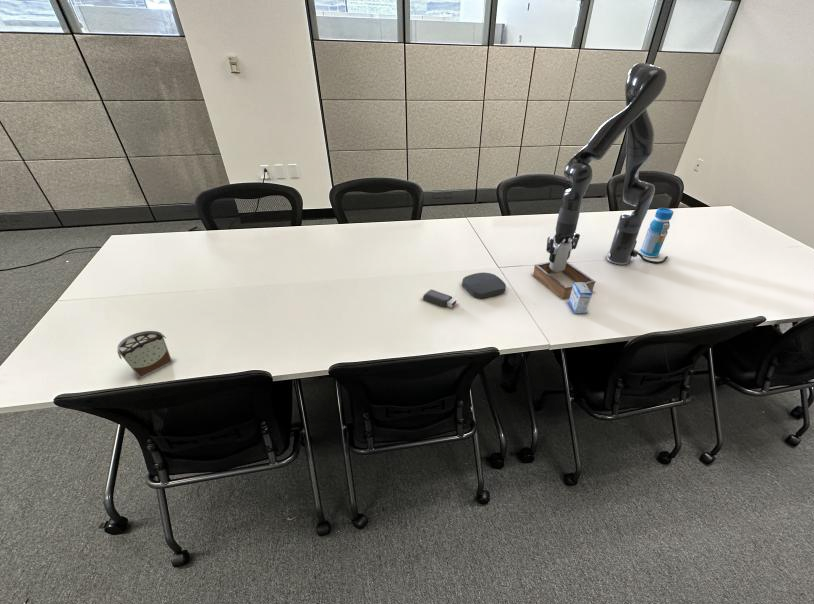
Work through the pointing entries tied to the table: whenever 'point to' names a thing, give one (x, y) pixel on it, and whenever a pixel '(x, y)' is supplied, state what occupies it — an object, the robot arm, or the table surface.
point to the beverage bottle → (656, 233)
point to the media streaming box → (483, 285)
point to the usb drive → (439, 298)
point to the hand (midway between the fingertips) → (558, 260)
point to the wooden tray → (556, 286)
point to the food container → (144, 352)
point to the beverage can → (560, 257)
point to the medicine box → (580, 297)
